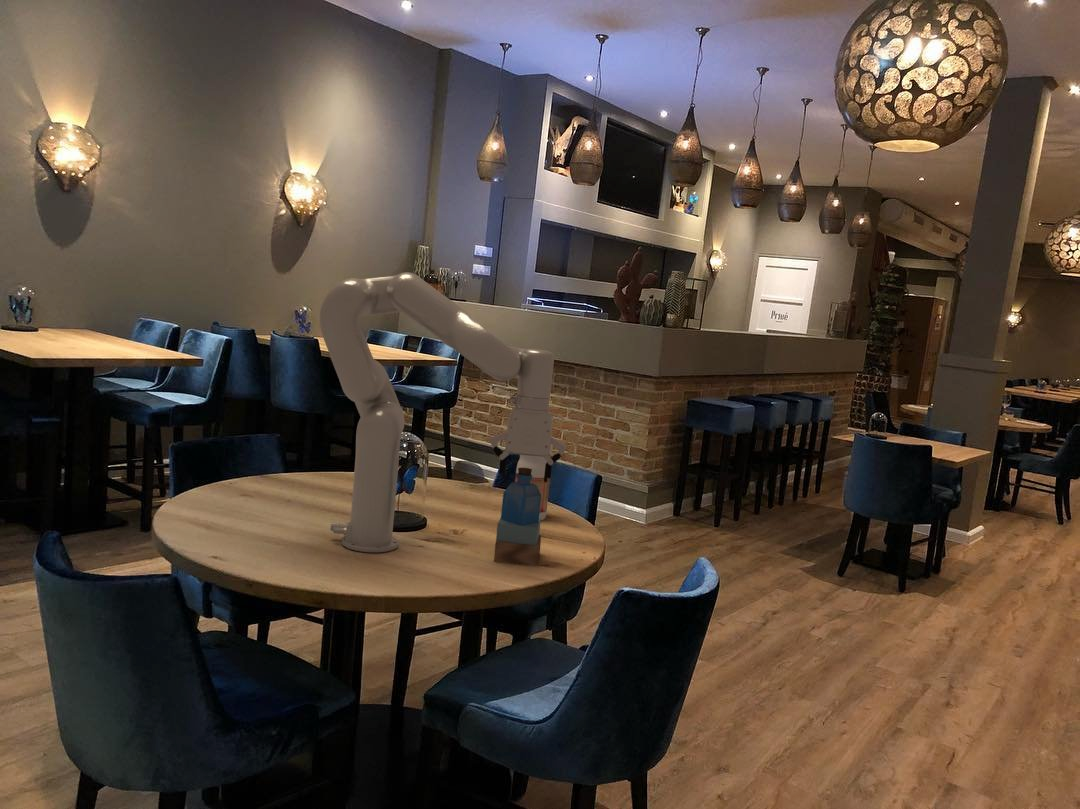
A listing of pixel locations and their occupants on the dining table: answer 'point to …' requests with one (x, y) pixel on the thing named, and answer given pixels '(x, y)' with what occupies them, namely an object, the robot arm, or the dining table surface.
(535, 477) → the fruit juice
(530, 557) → the tower base
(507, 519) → the perfume bottle
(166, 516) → the dining table surface
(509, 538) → the tower top
